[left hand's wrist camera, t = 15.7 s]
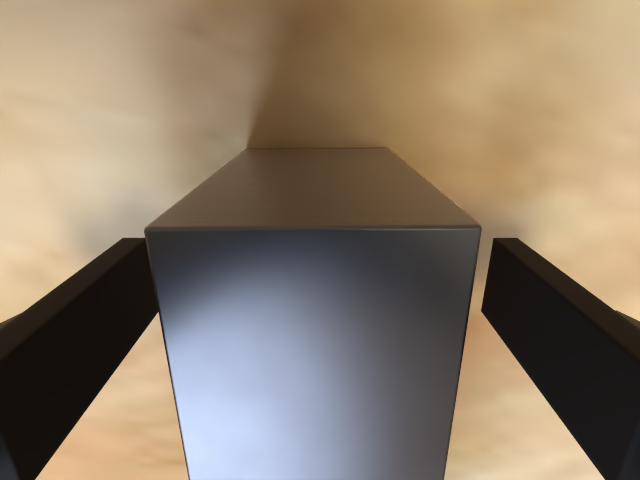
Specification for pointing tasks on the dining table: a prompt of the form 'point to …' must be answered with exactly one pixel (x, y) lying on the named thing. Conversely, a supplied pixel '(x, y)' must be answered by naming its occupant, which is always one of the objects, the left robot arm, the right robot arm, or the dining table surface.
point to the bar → (314, 316)
